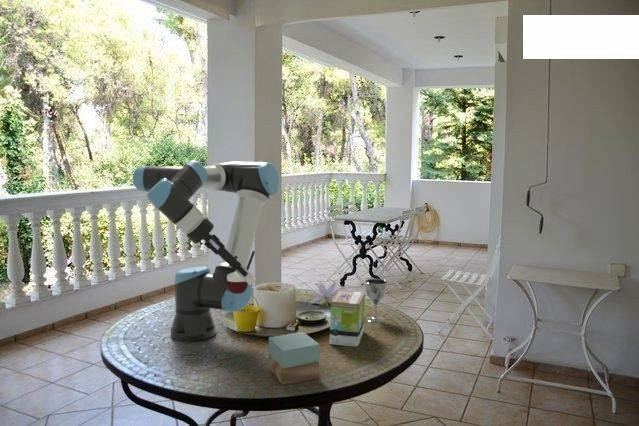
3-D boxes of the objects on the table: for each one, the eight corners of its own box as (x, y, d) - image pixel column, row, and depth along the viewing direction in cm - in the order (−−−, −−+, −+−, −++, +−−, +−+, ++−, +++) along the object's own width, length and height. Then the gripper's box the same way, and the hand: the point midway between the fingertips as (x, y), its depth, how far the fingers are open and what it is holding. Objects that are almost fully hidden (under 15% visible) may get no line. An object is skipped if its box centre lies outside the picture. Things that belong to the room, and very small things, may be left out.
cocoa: (220, 295, 147) (219, 254, 146) (226, 290, 153) (224, 250, 152) (253, 294, 146) (251, 253, 145) (257, 289, 152) (255, 250, 151)
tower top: (268, 353, 148) (268, 337, 147) (302, 347, 153) (303, 331, 152) (283, 368, 138) (283, 350, 138) (319, 361, 143) (319, 344, 143)
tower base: (269, 369, 149) (269, 353, 149) (304, 364, 153) (305, 348, 153) (281, 385, 139) (281, 368, 138) (318, 379, 143) (319, 362, 143)
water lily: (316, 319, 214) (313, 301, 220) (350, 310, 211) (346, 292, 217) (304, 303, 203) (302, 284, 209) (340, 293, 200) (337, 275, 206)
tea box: (359, 347, 166) (360, 303, 164) (328, 344, 168) (329, 301, 166) (364, 331, 181) (365, 291, 179) (336, 329, 183) (337, 289, 181)
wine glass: (389, 318, 195) (390, 280, 193) (380, 324, 188) (381, 285, 187) (370, 315, 199) (371, 277, 197) (361, 320, 193) (362, 281, 191)
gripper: (182, 230, 151) (236, 281, 159) (188, 239, 134) (248, 297, 141) (200, 212, 153) (253, 264, 160) (209, 219, 135) (267, 277, 142)
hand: (251, 279), depth 150 cm, fingers closed on cocoa, 6 cm apart
